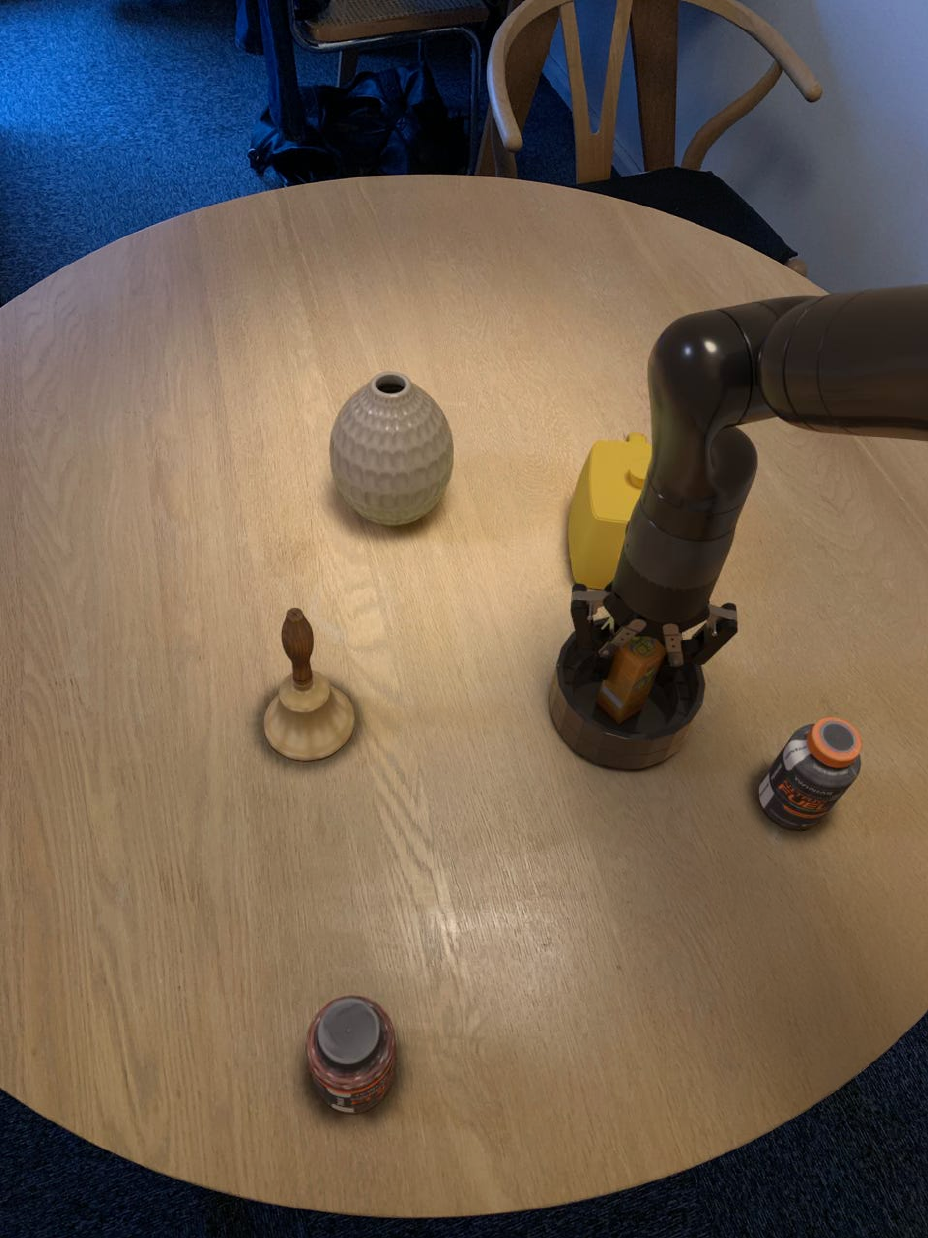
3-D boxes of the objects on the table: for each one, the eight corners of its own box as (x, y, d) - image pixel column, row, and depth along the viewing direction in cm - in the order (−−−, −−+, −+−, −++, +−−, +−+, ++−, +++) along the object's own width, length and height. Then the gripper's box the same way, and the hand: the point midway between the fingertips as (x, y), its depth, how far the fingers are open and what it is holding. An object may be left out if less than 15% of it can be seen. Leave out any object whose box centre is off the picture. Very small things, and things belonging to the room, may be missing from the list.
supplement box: (619, 728, 86) (640, 666, 78) (594, 702, 87) (612, 639, 79) (646, 710, 87) (668, 648, 79) (621, 685, 89) (641, 621, 81)
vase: (426, 453, 108) (428, 330, 94) (469, 531, 101) (478, 410, 87) (319, 480, 104) (306, 357, 91) (356, 562, 97) (347, 441, 84)
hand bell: (278, 677, 88) (256, 568, 76) (363, 691, 88) (356, 583, 75) (252, 753, 83) (224, 650, 71) (343, 768, 83) (331, 667, 70)
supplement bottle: (359, 1135, 66) (351, 1104, 57) (297, 1078, 68) (280, 1040, 59) (413, 1062, 69) (413, 1022, 60) (351, 1010, 71) (343, 963, 62)
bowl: (717, 723, 88) (735, 688, 83) (615, 799, 82) (628, 767, 77) (620, 631, 94) (632, 594, 89) (520, 697, 88) (526, 661, 83)
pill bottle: (752, 819, 82) (795, 756, 73) (761, 762, 85) (803, 696, 76) (821, 840, 81) (873, 779, 72) (827, 782, 84) (877, 717, 75)
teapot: (686, 634, 94) (717, 557, 84) (563, 622, 94) (580, 543, 84) (676, 492, 106) (702, 411, 96) (567, 482, 106) (582, 400, 97)
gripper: (576, 573, 67) (548, 700, 81) (775, 598, 67) (713, 722, 80) (581, 499, 72) (554, 631, 86) (767, 522, 71) (710, 651, 85)
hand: (631, 674), depth 83 cm, fingers closed on supplement box, 4 cm apart
